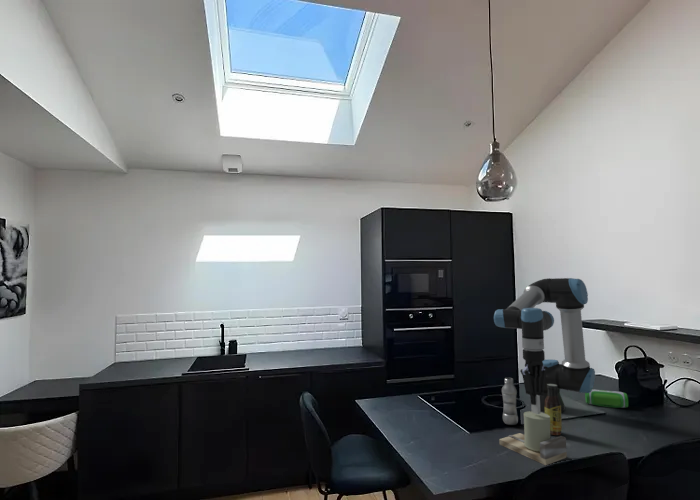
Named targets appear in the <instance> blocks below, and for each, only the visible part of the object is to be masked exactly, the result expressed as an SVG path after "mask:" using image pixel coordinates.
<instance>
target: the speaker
mask: <svg viewBox="0 0 700 500" xmlns="http://www.w3.org/2000/svg"><path fill="white" fill-rule="evenodd" d="M584 398H585V403H586V404H589V405H591V406H592V405H593V406H597V407H607V408H615V409H617V408H621V409H625V408H628V407H629V397H628V394H627V393H626V392H622V391H614V390H606V389H605V390H603V389H595V388H594V389H592V391H591V392H590V393H584Z"/></svg>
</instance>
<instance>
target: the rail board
mask: <svg viewBox="0 0 700 500" xmlns="http://www.w3.org/2000/svg"><path fill="white" fill-rule="evenodd" d="M498 441H499V446H502V447H504V448H506V449H509V450H510V451H512V452H515V453H518V454H519V455H522V456H524V457H527V458H529V459H531V460H533V461H535V462H537V463H540V464H542V465H544V466H548V465H551V464H553V463H555V462H558V461H561V460H564V459H566V458H567V457H568V454H567V438H566V437H565V436H563V435H557V436H556V437H553V438H551V439H550V440H547V441H544V442H541V443H540V452H538V451H533V450H530V449H528V448H527V447H525V445H524V443H525V435H524V433H520V432H519V433H515V434H509V435H508V436H506V437H503V438H499V440H498Z"/></svg>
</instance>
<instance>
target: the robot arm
mask: <svg viewBox="0 0 700 500" xmlns="http://www.w3.org/2000/svg"><path fill="white" fill-rule="evenodd" d="M588 295H589V293H588V290H587V286H586V284H585V282H584V281H583V280H582V279H580V278H572V277H567V278H565V277H564V278H563V277H560V278H556V277H555V278H542V279H539V280H537V281H534V282H532V283H530V284H529V285H528V286H526V288H524V289H523V293H522V294H521V295H520V296H519V297H518V298H517V299H515V300H514V301H513V302H512V303H511V304H510V305H509V306H507V308H505V309H503V308H502V309H496V310H495V311H494V314H493V322H494V324H495V326H496V327H499V328H504V329H518V330H521V337H522V338H521V347H522V348H523V349H522V358H523V360H524V361H525V362H524V368H522V369H520V374H521V375H522V381H523V386H524V390H525V394H526V395H529V396H530V397H529V398H530V408H531V411H532V413H535V414H541V413H540V412H542V413H545V399H546V397H547V396H548V394H547V393H548V388H547V384H555V385H557V386H558V389H557V394H558V399H559V401H560V404H561V413H562V412H565V410H566V407H565V403H564V400H563V398H562V395H561V390H565V391H570V392H577V393H578V394H580V393H581V394H582V393H583V394H585V393H590V392H591V391H592V389H593V388H594V385H595V381H596V380H595V379H596V371H595V369H594V368H592V367H591V365H590V362H589V361H587V360H586V353H585V352H586V350H585V343H584V342H585V341H584V331H583V330H584V329H583V320H582V310H584V308H585V305H587V303H588V301H589V298H588ZM542 303H547V304H549V303H550V304H551V303H553V304H555V308H556V309H557V310H559V313H560V322H561V323H560V325H561V335H562V344H563V345H562V346H563V355H564V359H563V360H562V361H561V363H560V362H559V360H557V359H549V358H548V359H545V358H546V356H545V350H544V349H545V343H544V341H545V340H544V339H545V338H544V337H545V336H544V333H545V332H544V331H549V329H551V328H552V327H553V326H554V324H555V318H554V316H553V314H552V313H551V312H549V311H547V310H543V309H541V308H538V307H536V306H537V305H540V304H542Z"/></svg>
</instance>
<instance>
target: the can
mask: <svg viewBox="0 0 700 500" xmlns="http://www.w3.org/2000/svg"><path fill="white" fill-rule="evenodd" d="M540 413H541V414H535V413H532V411H530V410H529V411H525V412H523V426H524V427H523V429H524V431H523V432H524V433H523V434H524V435H525V443H524V445H525V447H527V448H528V449H530V450H533V451H538V452H540V443H541V442H544V441H547V440H550V439H552V438H551V435H550V416H549V415H547V414H545V412H543V411H540Z"/></svg>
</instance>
